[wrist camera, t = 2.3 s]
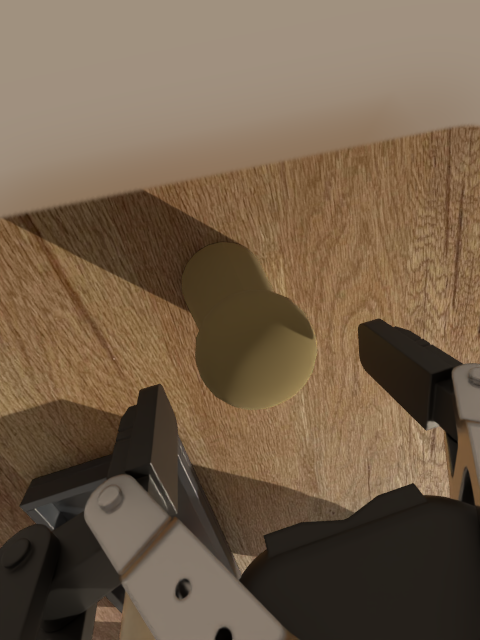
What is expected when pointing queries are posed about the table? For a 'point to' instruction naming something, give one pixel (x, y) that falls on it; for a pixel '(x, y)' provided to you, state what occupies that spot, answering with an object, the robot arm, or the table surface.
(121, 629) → the cream bottle
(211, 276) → the pepper shaker
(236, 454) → the table surface
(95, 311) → the table surface
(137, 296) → the table surface
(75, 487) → the tray
